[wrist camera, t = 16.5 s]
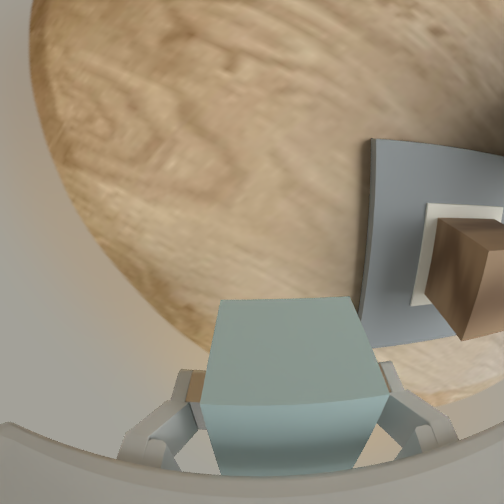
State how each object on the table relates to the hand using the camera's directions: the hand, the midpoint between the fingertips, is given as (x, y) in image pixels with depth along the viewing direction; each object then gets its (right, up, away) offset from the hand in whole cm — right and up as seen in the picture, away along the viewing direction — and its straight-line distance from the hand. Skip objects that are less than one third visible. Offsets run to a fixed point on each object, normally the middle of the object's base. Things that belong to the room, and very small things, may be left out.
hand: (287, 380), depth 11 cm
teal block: (0, +1, +2) cm, 2 cm away
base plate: (+15, +5, +9) cm, 18 cm away
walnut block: (+15, +5, +8) cm, 17 cm away
